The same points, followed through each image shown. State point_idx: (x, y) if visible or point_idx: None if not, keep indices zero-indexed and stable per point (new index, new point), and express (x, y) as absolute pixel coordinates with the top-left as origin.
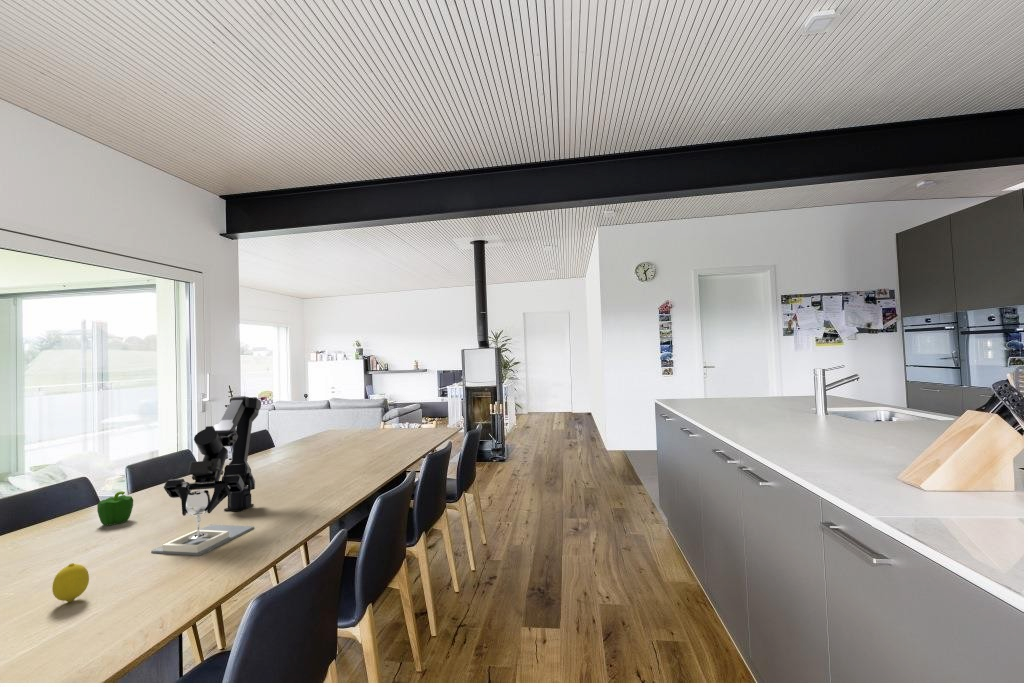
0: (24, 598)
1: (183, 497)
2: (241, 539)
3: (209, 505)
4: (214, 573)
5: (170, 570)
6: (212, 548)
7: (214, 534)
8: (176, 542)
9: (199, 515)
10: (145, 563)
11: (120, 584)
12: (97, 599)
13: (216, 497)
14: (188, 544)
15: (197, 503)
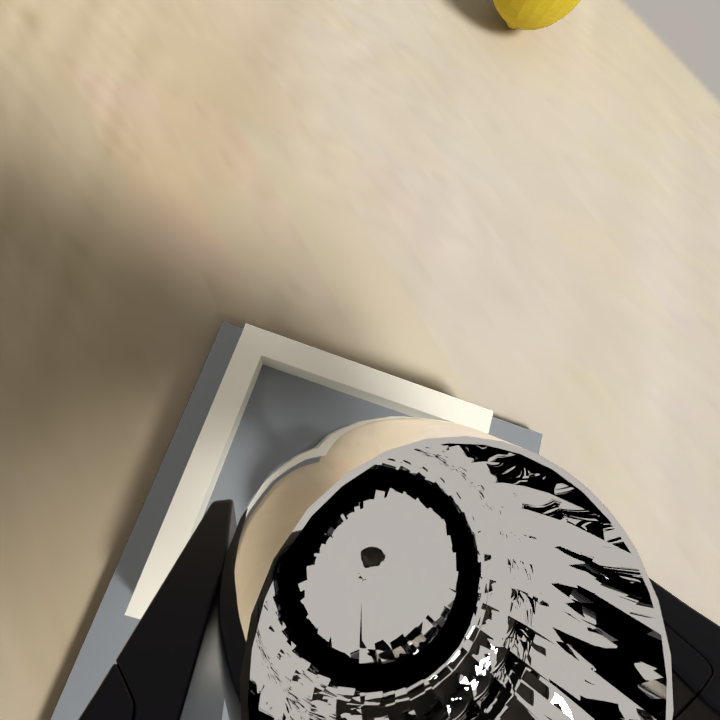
0: (686, 105)
1: (706, 646)
2: (39, 570)
3: (212, 559)
4: (43, 78)
5: (294, 179)
6: (188, 407)
7: None
8: None
9: (328, 508)
10: (472, 297)
11: (433, 106)
12: (431, 14)
13: (87, 712)
14: (324, 374)
15: (339, 431)
